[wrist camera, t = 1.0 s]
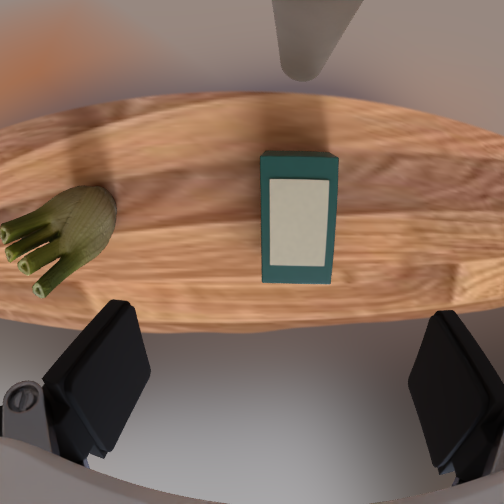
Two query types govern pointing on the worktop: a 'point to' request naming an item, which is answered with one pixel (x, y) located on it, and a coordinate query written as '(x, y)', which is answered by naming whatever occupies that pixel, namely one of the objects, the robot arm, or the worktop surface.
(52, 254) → the fennel bulb
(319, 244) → the tea packet
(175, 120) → the worktop surface
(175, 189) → the worktop surface
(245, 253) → the worktop surface
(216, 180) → the worktop surface
